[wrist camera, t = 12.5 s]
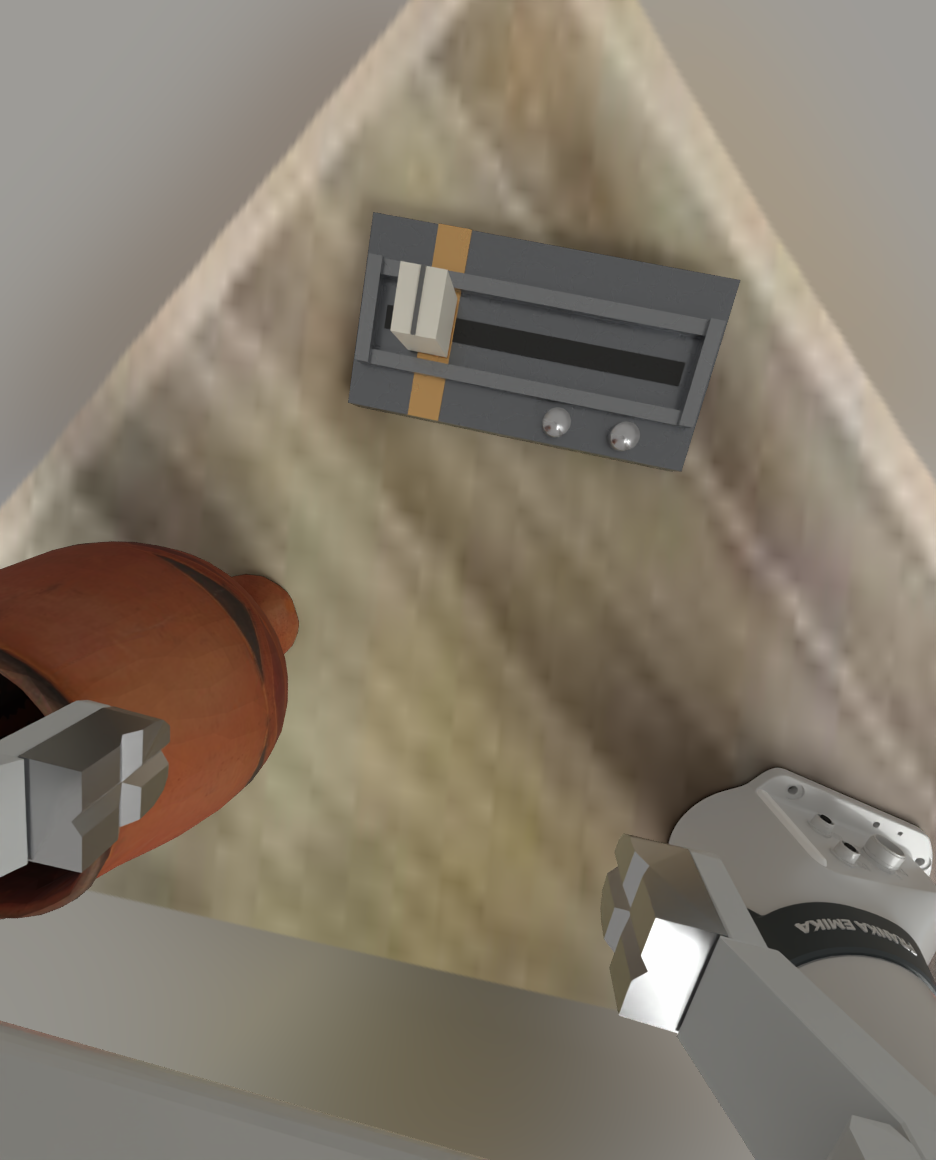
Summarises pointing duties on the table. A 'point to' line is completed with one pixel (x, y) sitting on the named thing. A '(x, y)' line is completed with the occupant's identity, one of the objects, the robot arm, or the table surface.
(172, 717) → the terracotta clay pot
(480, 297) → the console
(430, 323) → the fader cap
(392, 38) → the table surface
